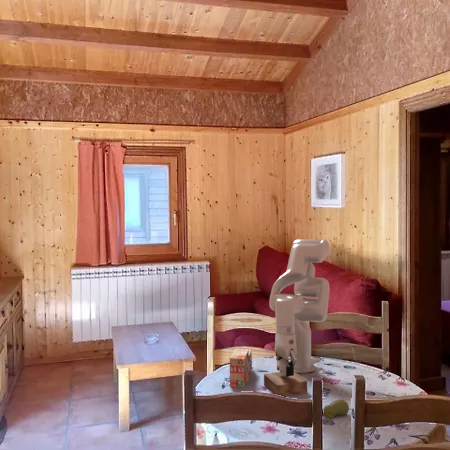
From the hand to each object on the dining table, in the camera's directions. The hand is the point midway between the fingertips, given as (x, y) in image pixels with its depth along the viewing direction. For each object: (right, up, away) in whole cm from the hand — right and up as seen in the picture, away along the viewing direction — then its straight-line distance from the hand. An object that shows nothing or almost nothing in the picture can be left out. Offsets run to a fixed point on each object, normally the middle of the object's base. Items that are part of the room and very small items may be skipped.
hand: (285, 372), depth 194 cm
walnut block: (0, -7, 0) cm, 7 cm away
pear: (+15, -8, -24) cm, 29 cm away
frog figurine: (0, -2, 0) cm, 2 cm away
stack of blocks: (-17, -7, +13) cm, 22 cm away
